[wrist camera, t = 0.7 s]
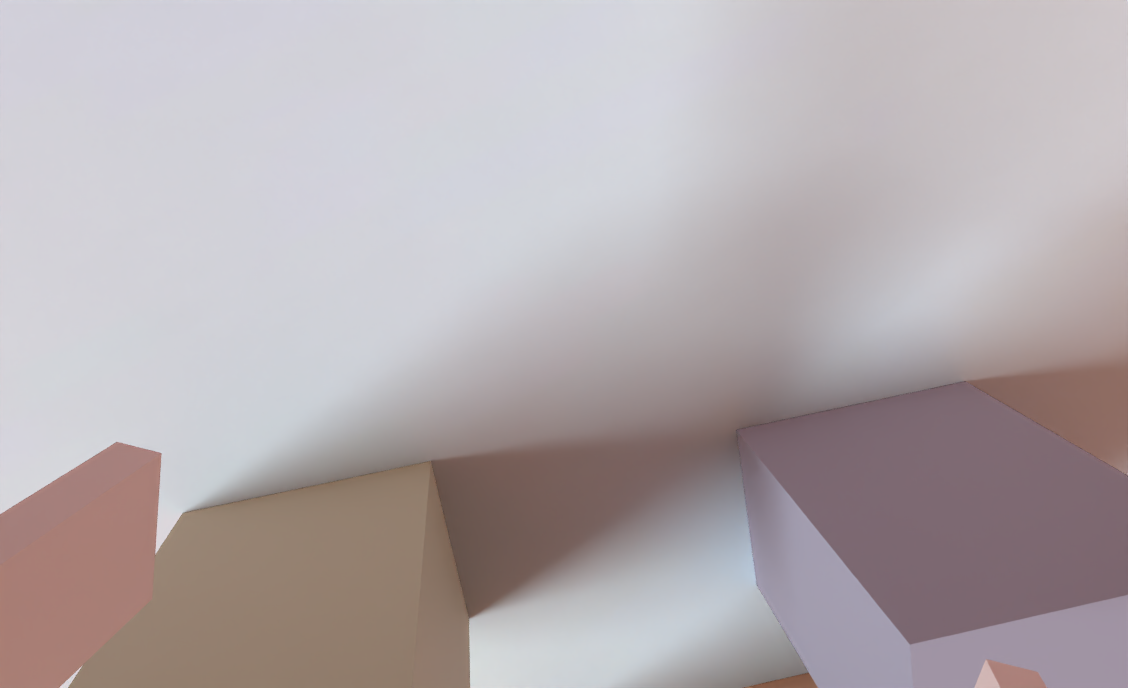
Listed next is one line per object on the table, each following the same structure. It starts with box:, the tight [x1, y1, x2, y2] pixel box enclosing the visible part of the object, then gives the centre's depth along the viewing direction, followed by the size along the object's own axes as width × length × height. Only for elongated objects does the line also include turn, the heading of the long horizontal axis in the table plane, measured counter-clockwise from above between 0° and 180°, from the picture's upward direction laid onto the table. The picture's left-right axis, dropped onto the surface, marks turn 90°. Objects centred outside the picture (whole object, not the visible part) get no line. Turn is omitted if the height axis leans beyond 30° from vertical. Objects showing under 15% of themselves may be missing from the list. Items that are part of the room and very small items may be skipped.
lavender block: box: [736, 381, 1128, 688], centre depth 25 cm, size 6×8×12 cm
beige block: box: [68, 461, 470, 688], centre depth 24 cm, size 6×8×12 cm
